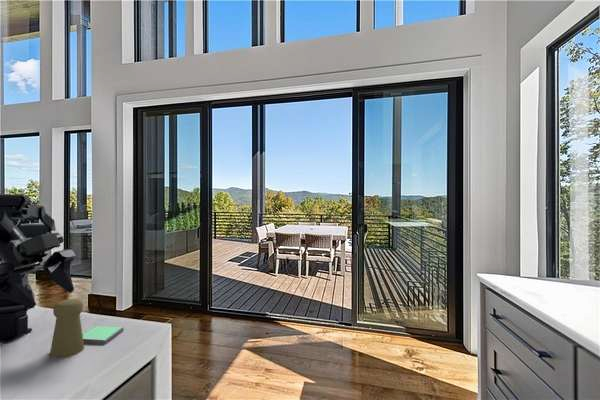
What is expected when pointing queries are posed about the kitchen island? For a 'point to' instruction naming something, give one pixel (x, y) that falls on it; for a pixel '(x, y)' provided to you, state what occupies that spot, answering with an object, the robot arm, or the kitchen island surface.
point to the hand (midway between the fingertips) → (54, 298)
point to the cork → (67, 329)
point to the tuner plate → (101, 334)
